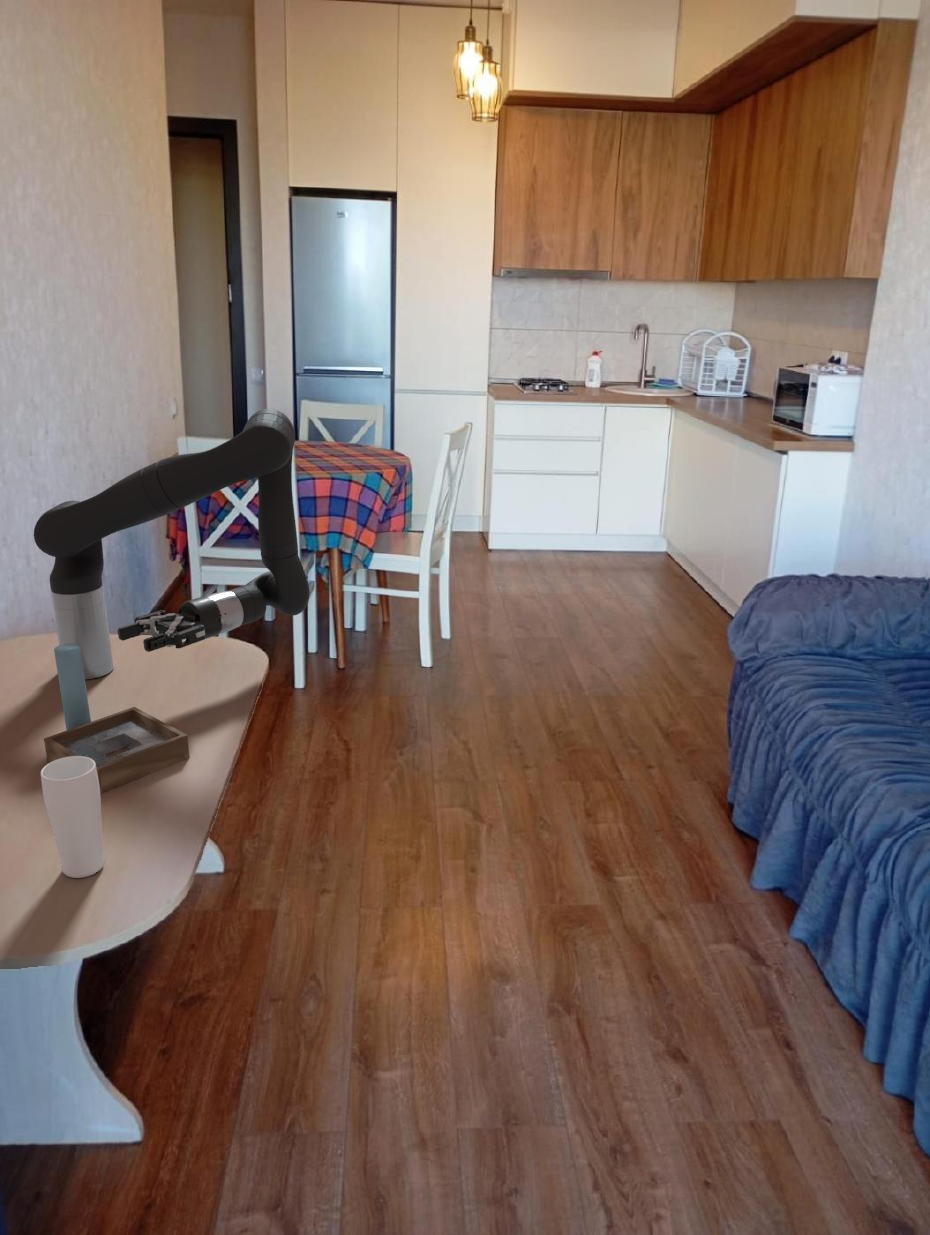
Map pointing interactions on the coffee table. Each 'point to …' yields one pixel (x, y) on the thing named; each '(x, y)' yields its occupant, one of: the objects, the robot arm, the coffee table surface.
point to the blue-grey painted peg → (72, 685)
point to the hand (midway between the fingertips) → (131, 640)
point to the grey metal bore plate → (115, 741)
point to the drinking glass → (75, 813)
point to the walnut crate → (133, 763)
